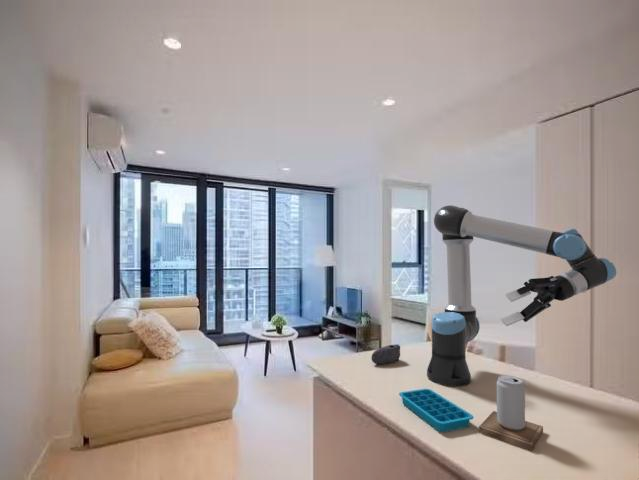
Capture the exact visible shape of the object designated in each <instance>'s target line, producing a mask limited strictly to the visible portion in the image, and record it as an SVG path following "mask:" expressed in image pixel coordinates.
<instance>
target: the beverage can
mask: <svg viewBox="0 0 639 480" xmlns="http://www.w3.org/2000/svg"><path fill="white" fill-rule="evenodd" d="M523 382H524V381H523V380H522V379H520V378H519V377H516V376H511V375H499V376H498V377H497V381H496V412H497V421H498V422H499V423H500V425H501V426H502V427H504V428H506V429H510V430H521V429H523V428H524V427H525V421H526V403H525V402H526V396H525V394H526V393H525V392H526V391H525V385H524V383H523Z"/></svg>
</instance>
